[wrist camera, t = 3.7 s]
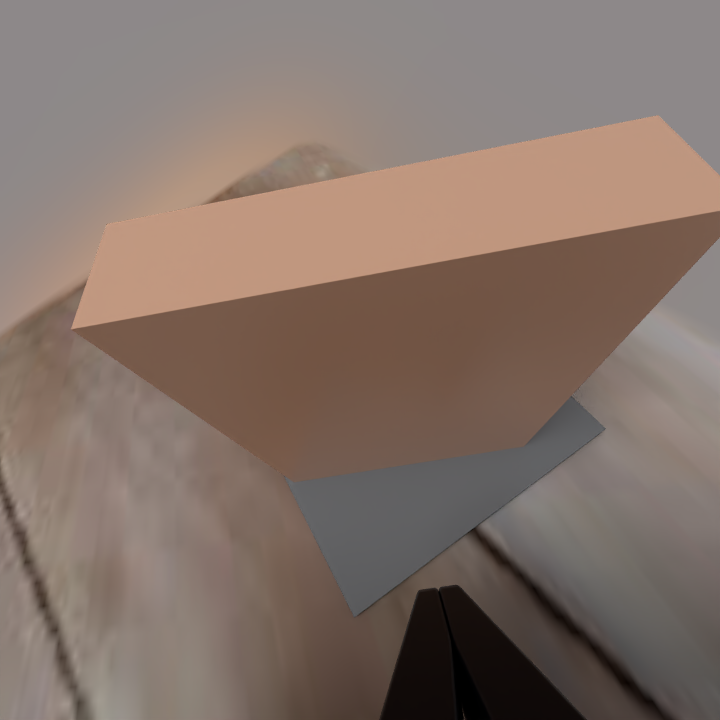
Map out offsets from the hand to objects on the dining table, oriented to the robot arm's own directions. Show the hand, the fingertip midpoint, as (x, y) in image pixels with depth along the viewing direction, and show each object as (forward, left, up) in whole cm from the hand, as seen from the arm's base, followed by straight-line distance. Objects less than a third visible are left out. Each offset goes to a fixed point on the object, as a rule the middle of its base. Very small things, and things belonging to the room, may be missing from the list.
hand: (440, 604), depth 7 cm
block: (+5, -2, -7) cm, 9 cm away
